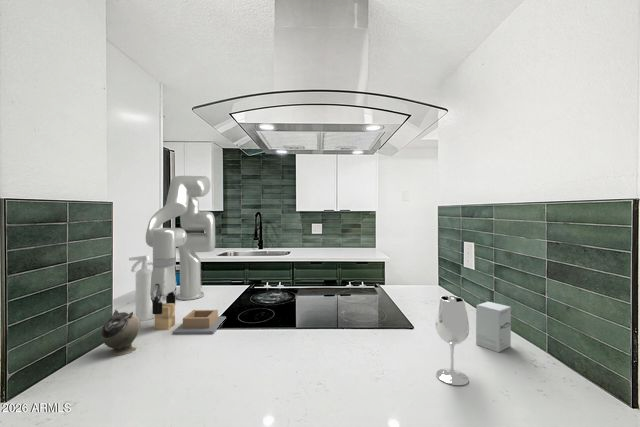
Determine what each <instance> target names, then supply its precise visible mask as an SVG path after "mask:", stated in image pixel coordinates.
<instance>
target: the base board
mask: <svg viewBox="0 0 640 427" xmlns="http://www.w3.org/2000/svg"><path fill="white" fill-rule="evenodd" d="M225 319H226V320H227V316H225V315H224V316H223V315H221V316H219V309H193V310H191V311H190V312H189V313H188V314H187V315H184V317H183V318H182V323H181V324H180V325H179V326H177V327H176V328H175V329H174V330H172V335H214V334H215V333H216V332H217V330H218V329H219V328H220V327H219V325H220V324H221V323H222V322H223V321H224V320H225ZM226 320H225V321H226ZM225 321H224V322H225ZM224 322H223V323H224ZM223 323H222V324H223ZM222 324H221V325H222ZM218 327H219V328H218ZM217 328H218V329H217Z"/></svg>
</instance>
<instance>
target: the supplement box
mask: <svg viewBox="0 0 640 427" xmlns="http://www.w3.org/2000/svg"><path fill="white" fill-rule="evenodd" d="M475 307H476V308H475V317H476V318H475V344H476V345H477V346H480V347H483V348H486V349H488V350H491V351H493V352H496V353H500V352H502V351H504V350H506V349H507V348H510V347H511V343H512V342H511V341H512V340H511V338H512V337H511V336H512V333H511V332H512V311H511V310H512V307H511V306H509V305H505V304H501V303H497V302H492V301H485V302H483V303H479V304H476V306H475Z"/></svg>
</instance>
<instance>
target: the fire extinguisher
mask: <svg viewBox="0 0 640 427" xmlns="http://www.w3.org/2000/svg"><path fill="white" fill-rule="evenodd" d="M150 260H151V259H150V255H149V254H148V255H140V256H139V255H138V256H131V257H128V261H136V262H134V264H133V265H132V266H131V270H130V271H131V272H132V273H135V315H136V316H137V317H138V319H139V321H140V322H141V321H149V320H152V319H154V314H153V303H152V300H151V296H150V288H151V275H152V270H153V268H150V266H153V261H151V262H150ZM140 264H141V267H140V268H141V269H138V266H140ZM137 269H138V270H137Z"/></svg>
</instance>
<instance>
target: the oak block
mask: <svg viewBox="0 0 640 427" xmlns="http://www.w3.org/2000/svg"><path fill="white" fill-rule="evenodd" d="M153 319H154V331H155V330H156V331H157V330H158V331H160V330H161V331H165V330H166V331H168V330H170V329H172V328H173V327H174V326H176V302H175V303H166V302H165V303H164V302H162V314H154V318H153Z"/></svg>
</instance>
